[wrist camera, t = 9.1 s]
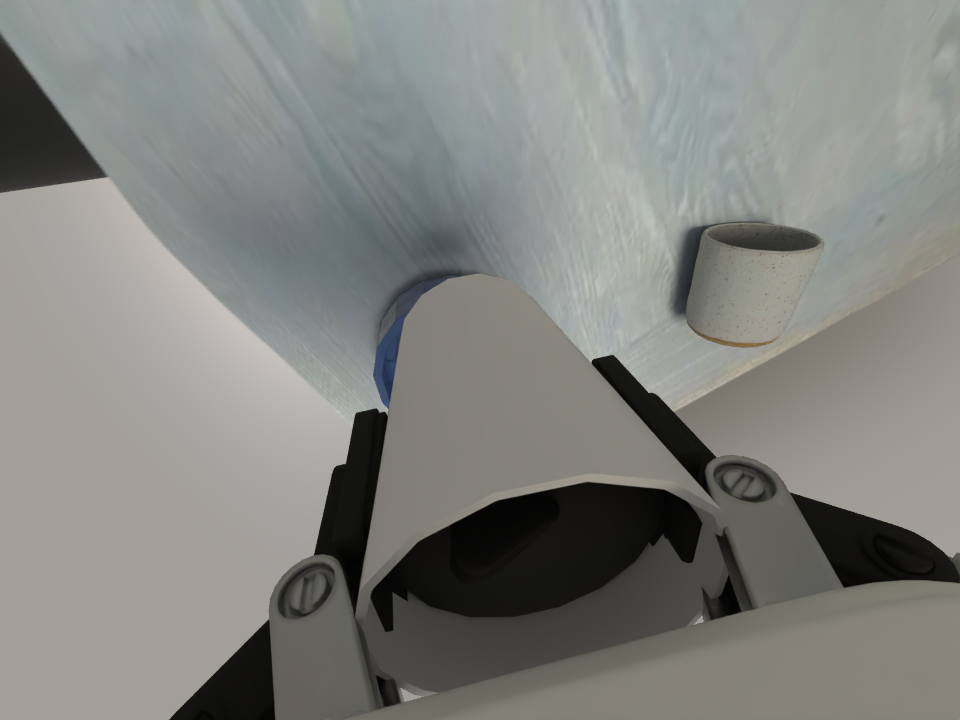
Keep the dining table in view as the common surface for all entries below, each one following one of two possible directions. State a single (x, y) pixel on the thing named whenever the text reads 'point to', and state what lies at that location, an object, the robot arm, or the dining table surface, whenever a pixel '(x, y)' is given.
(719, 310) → the ceramic mug
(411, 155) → the dining table surface
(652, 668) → the robot arm
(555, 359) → the white cylindrical cup
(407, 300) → the bowl
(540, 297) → the dining table surface
